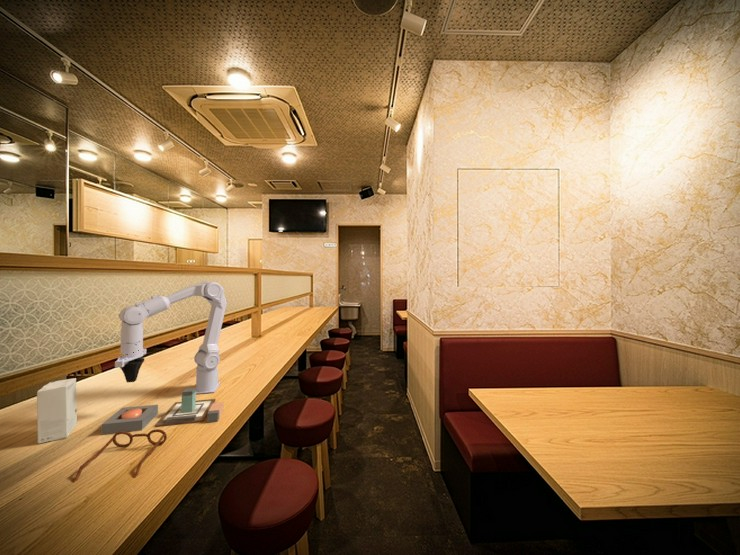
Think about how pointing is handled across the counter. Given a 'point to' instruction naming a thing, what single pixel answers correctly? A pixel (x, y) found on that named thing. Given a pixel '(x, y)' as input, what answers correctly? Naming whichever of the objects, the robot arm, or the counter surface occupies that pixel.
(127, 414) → the button
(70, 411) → the skincare box
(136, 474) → the glasses
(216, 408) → the terracotta marker
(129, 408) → the button housing
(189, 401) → the block
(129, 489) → the counter surface
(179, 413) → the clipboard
